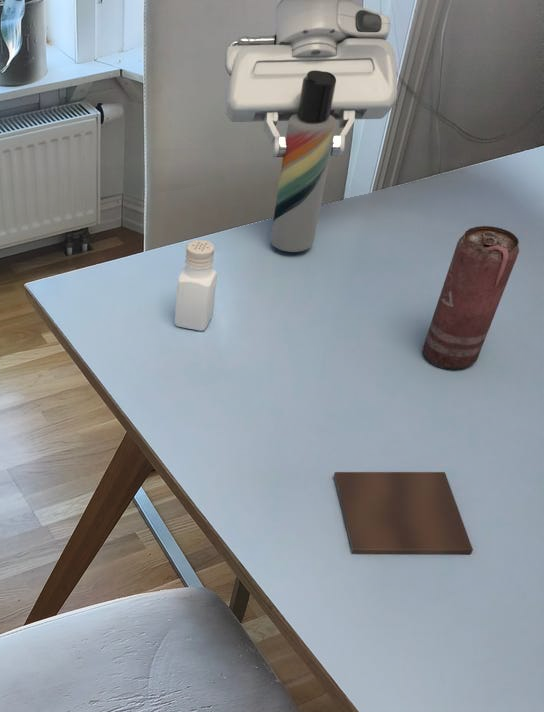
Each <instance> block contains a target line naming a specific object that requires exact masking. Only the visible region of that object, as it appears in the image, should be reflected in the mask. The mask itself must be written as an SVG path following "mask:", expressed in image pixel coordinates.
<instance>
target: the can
mask: <svg viewBox="0 0 544 712" xmlns="http://www.w3.org/2000/svg"><path fill="white" fill-rule="evenodd" d="M519 244H520V243H519V238H518V237H517V236H516V234H515V233H512V232H511V231H509V230H507V229H504V228H502V227H496V226H492V225H490V226H489V225H480V226H479V225H478V226H474V227H471V228H469V229H467V230H465V232H464V233H463V235H462V236H460V238H459V239H458V241H457V242H456V246H455V249H454V252H453V255H452V258H451V262H450V264H449V267H448V269H447V274H446V275H445V279H444V282H443V286H442V288H441V291H440V295H439V298H438V301H437V304H436V306H435V309H434V313H433V315H432V319H431V322H430V325H429V328H428V331H427V333H426V337H425V340H424V343H423V346H422V352H423V355H424V358H425V359H426V360H427V361H428V362H429V363H430V364H431V365H433V366H435V367H437V368H440V369H443V370H450V371H458V370H459V371H460V370H464V369H467V368H469V367H471V366H472V365H473V364H475V362H477V360H478V358H479V356H480V354H481V351H482V348H483V346H484V343H485V341H486V339H487V336H488V333H489V330H490V328H491V325H492V324H493V323H492V322H493V320H494V317H495V315H496V312H497V309H498V307H499V304H500V302H501V300H502V297H503V295H504V292H505V289H506V286H507V284H508V282H509V279H510V276H511V274H512V271H513V269H514V266H515V263H516V261H517V258H518V256H519V253H520V246H519Z"/></svg>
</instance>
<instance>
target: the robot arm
mask: <svg viewBox="0 0 544 712" xmlns="http://www.w3.org/2000/svg"><path fill="white" fill-rule="evenodd" d="M391 25H392V24H391V19H390V17H389V16H387V15H385V14H383V13H380V12H376V11H373V10H370V9H368V8H364V7H362V6H359V5H358V4H356V3H353V2H351V0H277V2H276V6H275V11H274V35H260V36H259V35H257V36H248V35H243V36H239V37H238V38H237V40H234V41H232V42H231V43H230V44H229V45H228V46H227V48H226V50H225V54H224V56H225V59H224V66H225V70H226V73H227V74H228V75H229V81H228V87H227V94H226V103H225V105H226V106H225V114H226V116H227V118H228V119H229V120H230V121H231V122H232V123H250V122H251V123H253V122H255V123H256V122H263V132H264V133H265V135H266V137H267V138H268V141H269V142H270V144H271V158H283V157H284V156H285V154H286V150H287V146H286V143H287V141H286V136H281V135H280V132H279V130H278V129H277V124H278V122H289V119H290V117H291V116H292V115H294V114H296V113H298V109H299V102H300V96H301V89H302V83H303V79H304V78H305V77H306V76H307V74H308V72H310V71H313V70H317V71H322V72H329V73H331V74H333V75H334V76H335V78H336V85H335V90H334V95H333V101H332V106H331V111H330V115H331V116H333V117H334V118H335V120H336V121H338V128H339V129H342V130H341V132H340V134H339V135H334V139H333V144H332V150H331V155H330V157H341V156H343V154H344V153H345V147H346V136H347V135H348V133H349V131H350V129H351V128H352V126H353V125H354V122H355V121H356V120H381V119H383V118H384V117H386V115H388V114H389V113H390V111H391V110H392V109H393V107H394V105H395V103H396V101H397V96H398V72H397V61H396V59H397V58H396V54H395V51H394V48H393V46H392V44H391V43H390V42H389V41H388V38H389V34H390V31H391Z"/></svg>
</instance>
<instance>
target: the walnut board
mask: <svg viewBox="0 0 544 712" xmlns="http://www.w3.org/2000/svg"><path fill="white" fill-rule="evenodd" d="M333 479H334V485H335V489H336V492H337V496H338V500H339V504H340V505H339V506H340V509H341V514H342V517H343V521H344V522H343V523H344V526H345V530H346V534H347V537H348V542H349V547H350V550H351V554H352V555H353V554H354V555H355V554H356V555H358V554H359V555H472V553H473V551H474V549H473V546H472V543H471V541H470V538H469V534H468V533H467V529H466V526H465V524H464V521H463V519H462V516H461V515H462V514H461V512H460V510H459V508H458V505H457V502H456V499H455V496H454V494H453V490H452V488H451V486H450V482H449V480H448V477H447V473H446V472H445V471H334V474H333Z"/></svg>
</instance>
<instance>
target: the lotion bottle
mask: <svg viewBox="0 0 544 712" xmlns="http://www.w3.org/2000/svg"><path fill="white" fill-rule="evenodd" d="M335 85H336V78H335V76H334V75H333V74H331V73H329V72H322V71H317V70H313V71H310V72H308V74H307V76H306V77H305V78H304V79H303V83H302V89H301V96H300V102H299V109H298V113H296V114H294V115H292V116H291V117H290V119H289V121H287V129H286V134H285V137H286V141H287V143H286V146H287V150H286V154H285V156H284V157H282V159H281V160H282V161H281V168H280V173H279V179H278V187H277V193H276V200H275V205H274V206H275V207H274V213H273V220H272V226H271V233H270V242H271V244H272V246H273V247H275V248H276V249H278V250H280V251H282V252H283V251H284V252H288V253H298V252H303V251H307V250H309V249H310V248H311V247H312V246H313V244H314V241H315V237H316V232H317V227H318V223H319V217H320V212H321V208H322V207H321V206H322V201H323V196H324V190H325V185H326V180H327V175H328V172H329V171H328V170H329V165H330V159H331V156H330V155H331V150H332V144H333V139H334V136H335V133H336V127H337V120H335V118H334V117H333V116H331V115H330V111H331V106H332V101H333V95H334V90H335Z"/></svg>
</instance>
